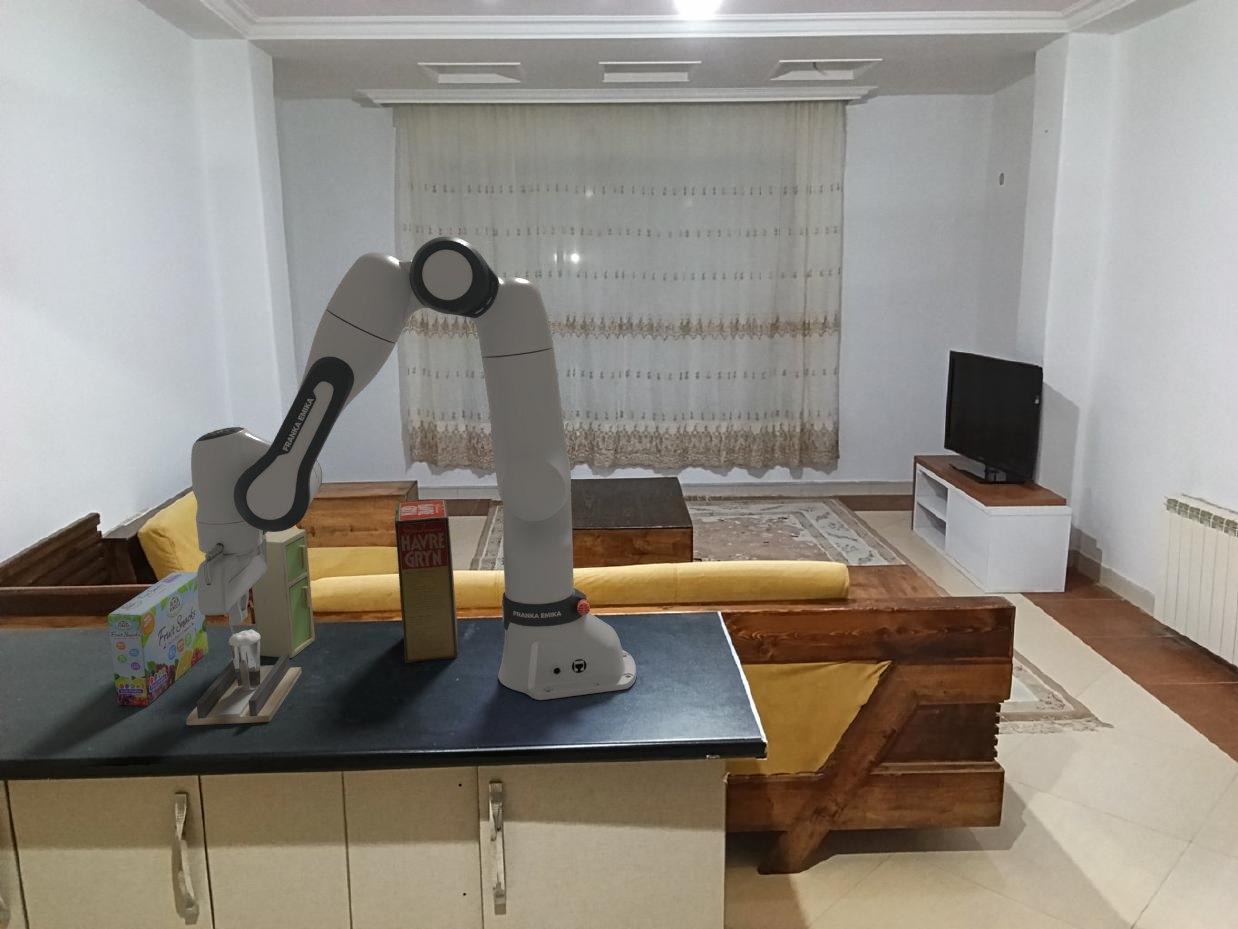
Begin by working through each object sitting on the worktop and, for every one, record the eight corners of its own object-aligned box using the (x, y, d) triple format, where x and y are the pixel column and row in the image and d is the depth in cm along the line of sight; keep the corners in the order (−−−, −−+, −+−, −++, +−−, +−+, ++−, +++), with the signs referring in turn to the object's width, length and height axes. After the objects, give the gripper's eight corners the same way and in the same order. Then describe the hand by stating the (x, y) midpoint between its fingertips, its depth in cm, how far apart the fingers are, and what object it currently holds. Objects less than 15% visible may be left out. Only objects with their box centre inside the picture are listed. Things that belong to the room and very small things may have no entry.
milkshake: (248, 677, 147) (242, 618, 145) (271, 684, 145) (265, 624, 143) (224, 688, 144) (217, 628, 141) (247, 696, 141) (240, 634, 139)
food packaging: (404, 634, 168) (395, 501, 163) (456, 629, 170) (449, 498, 165) (403, 663, 156) (393, 521, 150) (459, 657, 157) (451, 517, 152)
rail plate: (301, 672, 152) (299, 653, 152) (269, 721, 136) (267, 699, 135) (227, 675, 152) (225, 655, 151) (186, 725, 135) (183, 703, 134)
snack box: (152, 707, 141) (140, 614, 138) (116, 707, 141) (103, 615, 138) (211, 651, 162) (202, 569, 159) (179, 651, 162) (169, 570, 159)
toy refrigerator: (296, 659, 158) (285, 542, 154) (257, 656, 159) (245, 540, 155) (319, 641, 166) (310, 529, 161) (282, 638, 167) (272, 527, 163)
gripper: (226, 555, 128) (236, 648, 131) (272, 517, 148) (279, 598, 151) (180, 556, 128) (191, 649, 131) (232, 518, 148) (240, 599, 151)
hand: (238, 621), depth 141 cm, fingers closed
